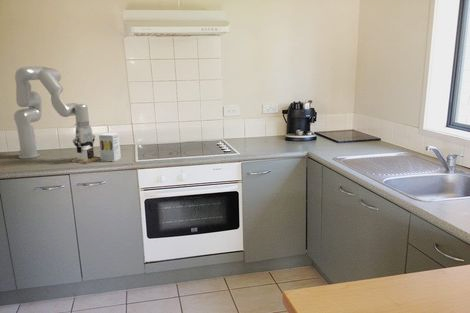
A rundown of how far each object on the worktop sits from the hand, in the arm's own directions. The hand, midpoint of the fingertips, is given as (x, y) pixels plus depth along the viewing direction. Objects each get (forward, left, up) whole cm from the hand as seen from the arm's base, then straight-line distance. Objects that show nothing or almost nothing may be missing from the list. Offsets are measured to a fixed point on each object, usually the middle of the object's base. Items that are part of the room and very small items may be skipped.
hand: (85, 151), depth 259 cm
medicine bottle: (0, 0, -5) cm, 5 cm away
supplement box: (+13, +8, -6) cm, 17 cm away
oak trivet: (0, 0, -6) cm, 6 cm away
